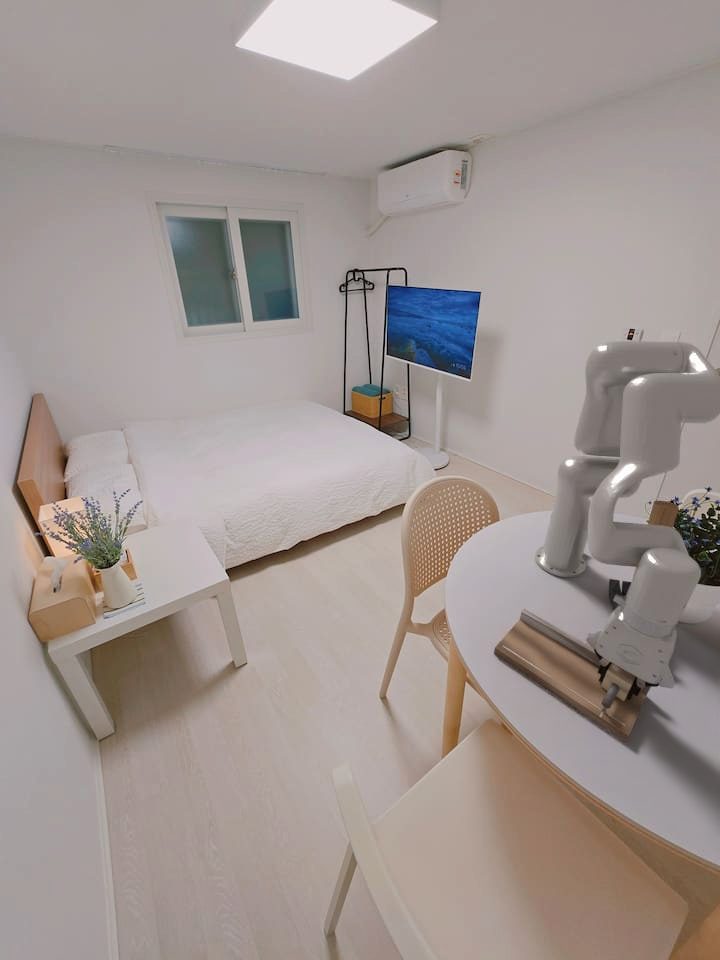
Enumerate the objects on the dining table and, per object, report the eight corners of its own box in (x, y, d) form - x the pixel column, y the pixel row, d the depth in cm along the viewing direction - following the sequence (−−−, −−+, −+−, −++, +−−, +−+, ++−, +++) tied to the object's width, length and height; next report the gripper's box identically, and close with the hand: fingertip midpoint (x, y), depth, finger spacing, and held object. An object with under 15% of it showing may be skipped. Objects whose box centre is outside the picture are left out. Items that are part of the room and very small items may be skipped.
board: (520, 621, 92) (524, 608, 90) (645, 695, 76) (653, 681, 74) (493, 653, 85) (496, 639, 83) (625, 742, 68) (633, 727, 66)
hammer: (603, 599, 100) (632, 486, 91) (626, 603, 99) (657, 489, 90) (634, 655, 82) (674, 521, 72) (662, 660, 81) (706, 524, 71)
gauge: (608, 672, 78) (615, 656, 76) (631, 685, 76) (639, 670, 73) (590, 704, 72) (597, 688, 70) (615, 720, 70) (622, 704, 68)
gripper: (586, 601, 70) (563, 669, 78) (705, 660, 59) (663, 732, 68) (601, 580, 74) (578, 647, 83) (715, 631, 64) (674, 702, 72)
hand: (616, 684), depth 75 cm, fingers closed on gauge, 4 cm apart
